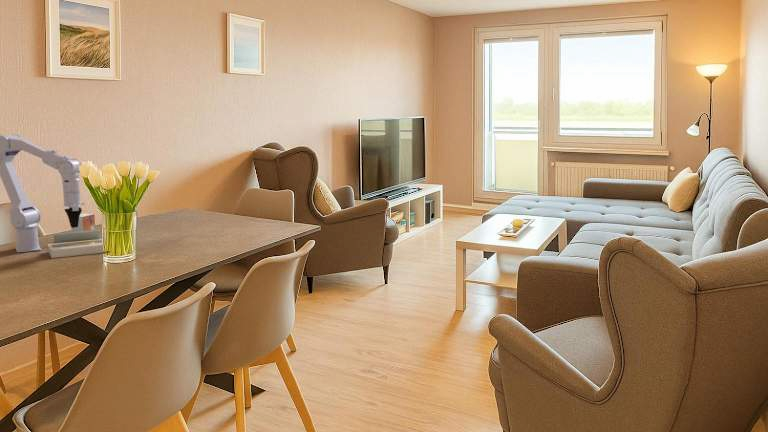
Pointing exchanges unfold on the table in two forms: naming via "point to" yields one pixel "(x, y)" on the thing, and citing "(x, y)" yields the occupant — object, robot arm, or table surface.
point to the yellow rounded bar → (81, 243)
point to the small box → (85, 223)
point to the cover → (76, 236)
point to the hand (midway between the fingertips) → (74, 227)
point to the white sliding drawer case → (75, 248)
